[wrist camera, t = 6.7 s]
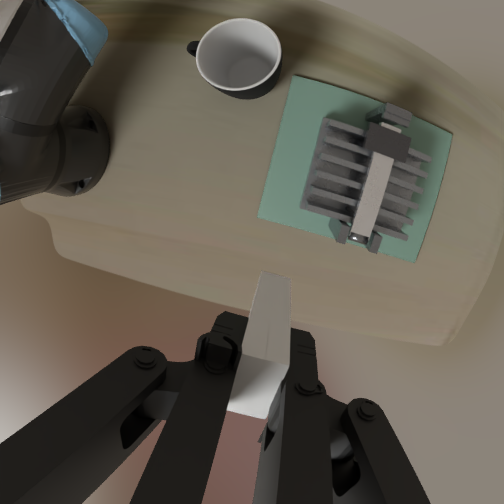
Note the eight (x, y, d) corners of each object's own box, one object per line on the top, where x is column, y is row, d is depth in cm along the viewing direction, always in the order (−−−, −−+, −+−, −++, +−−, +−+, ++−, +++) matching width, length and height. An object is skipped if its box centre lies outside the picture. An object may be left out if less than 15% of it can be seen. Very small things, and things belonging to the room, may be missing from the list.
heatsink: (296, 216, 39) (297, 233, 31) (326, 100, 34) (337, 84, 25) (389, 244, 39) (412, 267, 30) (421, 135, 33) (453, 132, 25)
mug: (294, 61, 33) (295, 32, 23) (267, 116, 36) (260, 103, 26) (214, 34, 33) (193, 4, 23) (188, 87, 36) (158, 70, 26)
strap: (335, 234, 33) (337, 237, 32) (368, 118, 28) (371, 117, 27) (374, 246, 33) (377, 249, 32) (408, 134, 28) (412, 133, 27)
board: (257, 216, 40) (257, 217, 40) (292, 76, 34) (293, 75, 33) (412, 261, 39) (414, 263, 39) (450, 134, 33) (452, 134, 32)
